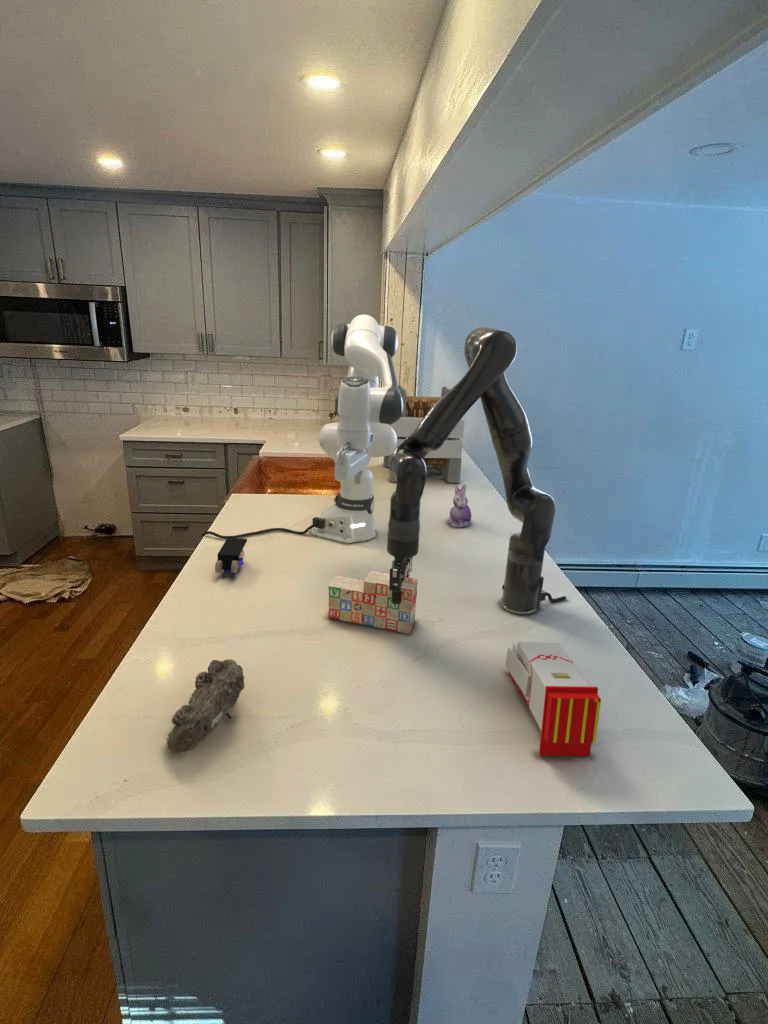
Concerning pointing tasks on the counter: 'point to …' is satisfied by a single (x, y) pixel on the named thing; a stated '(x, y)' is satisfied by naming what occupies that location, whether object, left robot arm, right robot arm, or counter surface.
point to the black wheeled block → (230, 556)
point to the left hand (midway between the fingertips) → (352, 488)
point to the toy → (556, 697)
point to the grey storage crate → (443, 458)
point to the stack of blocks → (373, 602)
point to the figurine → (460, 508)
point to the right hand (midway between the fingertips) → (399, 596)
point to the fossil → (206, 705)
